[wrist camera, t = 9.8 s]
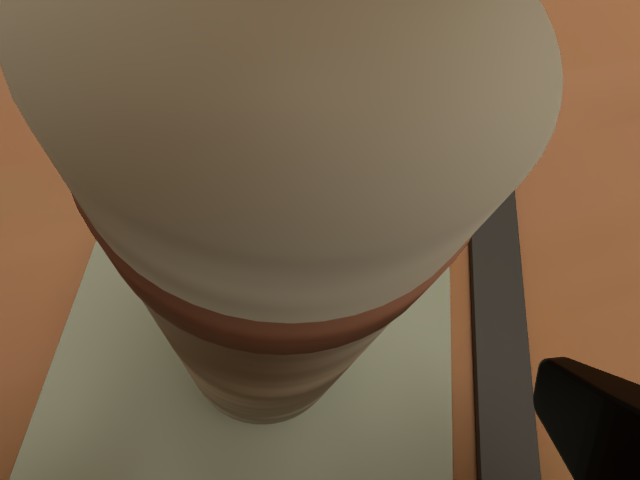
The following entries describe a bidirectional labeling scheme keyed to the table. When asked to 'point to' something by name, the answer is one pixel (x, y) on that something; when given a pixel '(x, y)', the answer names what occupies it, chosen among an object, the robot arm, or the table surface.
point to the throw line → (501, 352)
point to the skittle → (283, 162)
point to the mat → (221, 430)
